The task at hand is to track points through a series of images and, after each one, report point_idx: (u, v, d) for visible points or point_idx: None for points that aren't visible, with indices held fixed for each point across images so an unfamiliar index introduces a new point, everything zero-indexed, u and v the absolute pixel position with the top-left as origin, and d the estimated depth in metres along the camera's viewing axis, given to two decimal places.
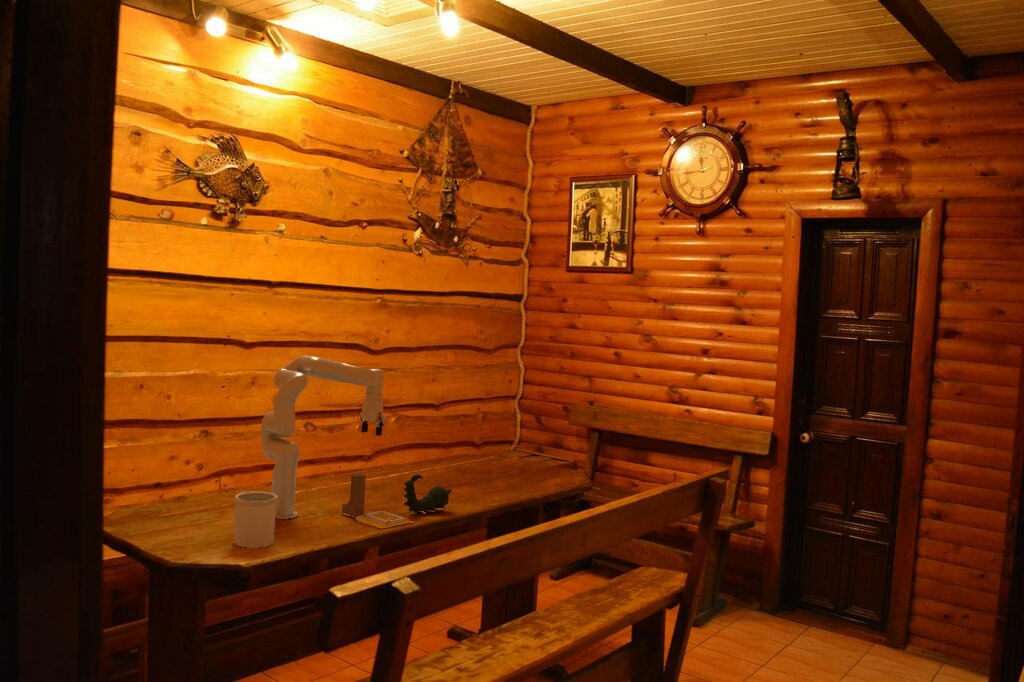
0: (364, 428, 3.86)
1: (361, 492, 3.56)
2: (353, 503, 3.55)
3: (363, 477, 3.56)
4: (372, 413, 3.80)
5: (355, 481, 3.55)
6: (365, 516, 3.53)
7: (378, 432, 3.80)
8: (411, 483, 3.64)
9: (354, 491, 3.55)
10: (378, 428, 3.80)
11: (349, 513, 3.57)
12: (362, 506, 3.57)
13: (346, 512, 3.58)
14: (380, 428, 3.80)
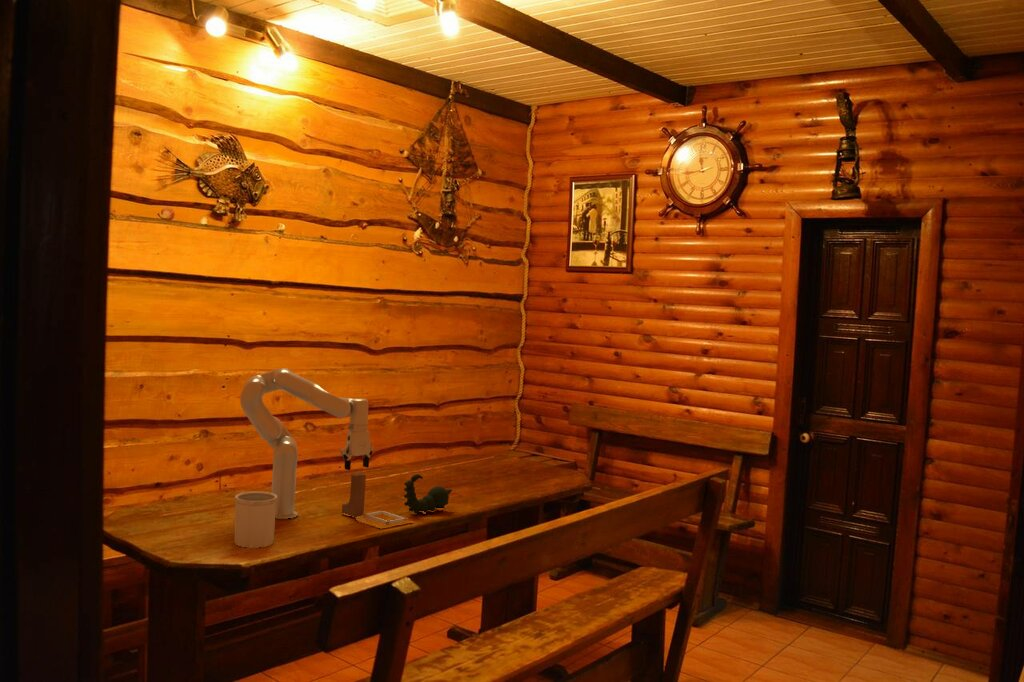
0: None
1: (361, 492, 3.56)
2: (353, 503, 3.55)
3: (363, 477, 3.56)
4: (367, 445, 3.58)
5: (355, 481, 3.55)
6: (365, 516, 3.53)
7: None
8: (411, 483, 3.64)
9: (354, 491, 3.55)
10: (368, 459, 3.62)
11: (349, 513, 3.57)
12: (362, 506, 3.57)
13: (346, 512, 3.58)
14: None
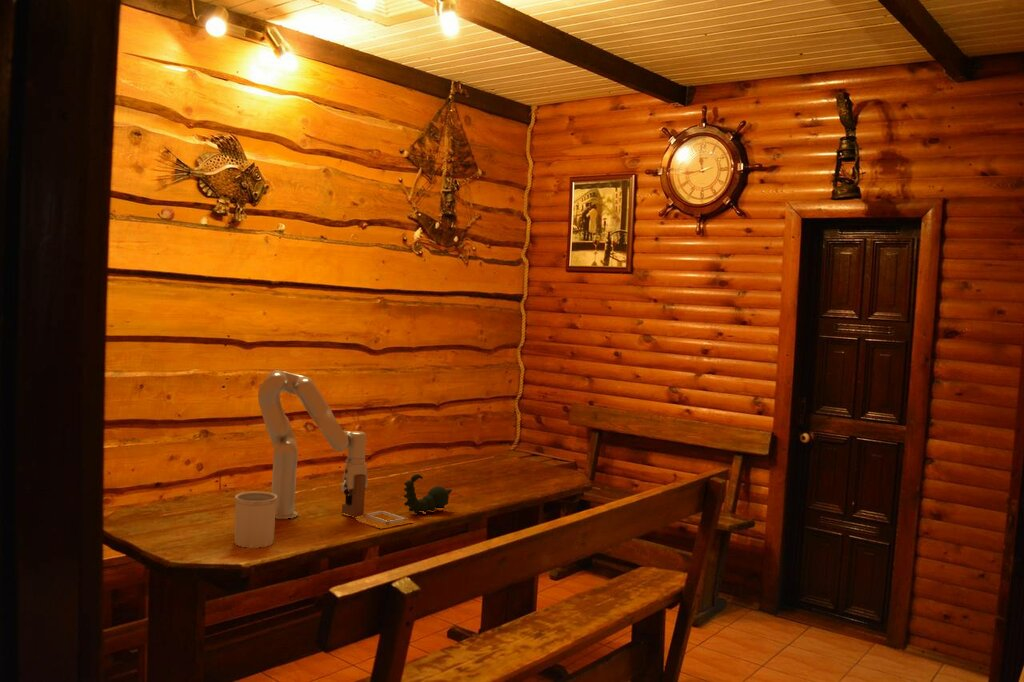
0: None
1: (361, 492, 3.56)
2: (353, 503, 3.55)
3: (363, 477, 3.56)
4: None
5: None
6: (365, 516, 3.53)
7: None
8: (411, 483, 3.64)
9: (354, 491, 3.55)
10: None
11: (349, 513, 3.57)
12: (362, 506, 3.57)
13: (346, 512, 3.58)
14: None
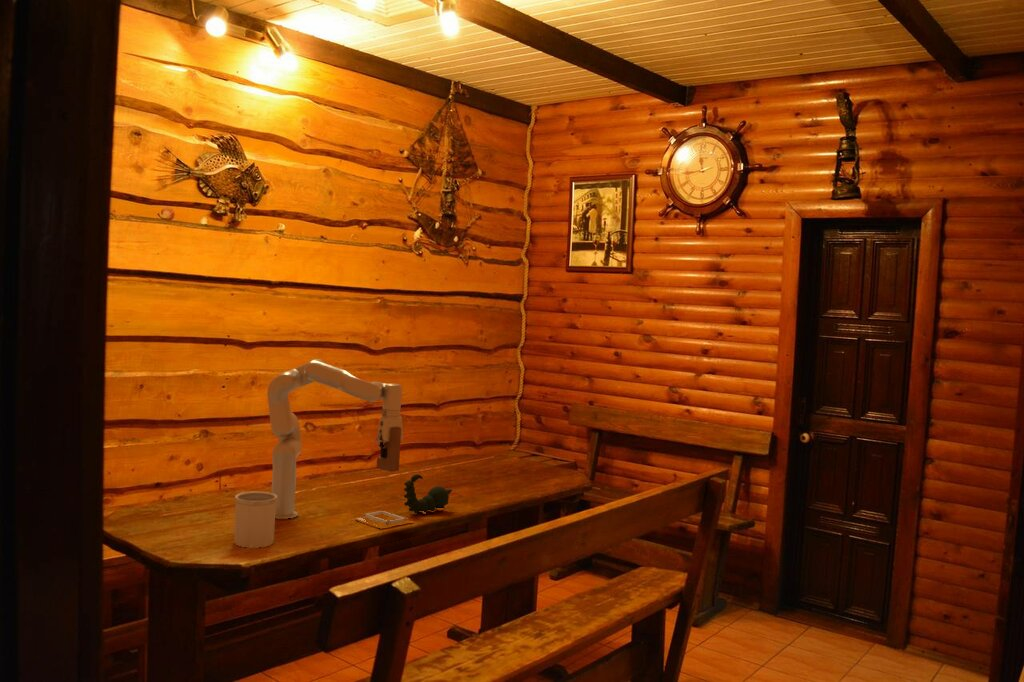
0: None
1: (397, 445, 3.49)
2: (389, 455, 3.48)
3: (398, 429, 3.49)
4: None
5: (390, 433, 3.48)
6: (365, 516, 3.53)
7: None
8: (411, 483, 3.64)
9: (389, 443, 3.48)
10: None
11: (384, 466, 3.50)
12: (397, 459, 3.50)
13: (381, 465, 3.51)
14: None
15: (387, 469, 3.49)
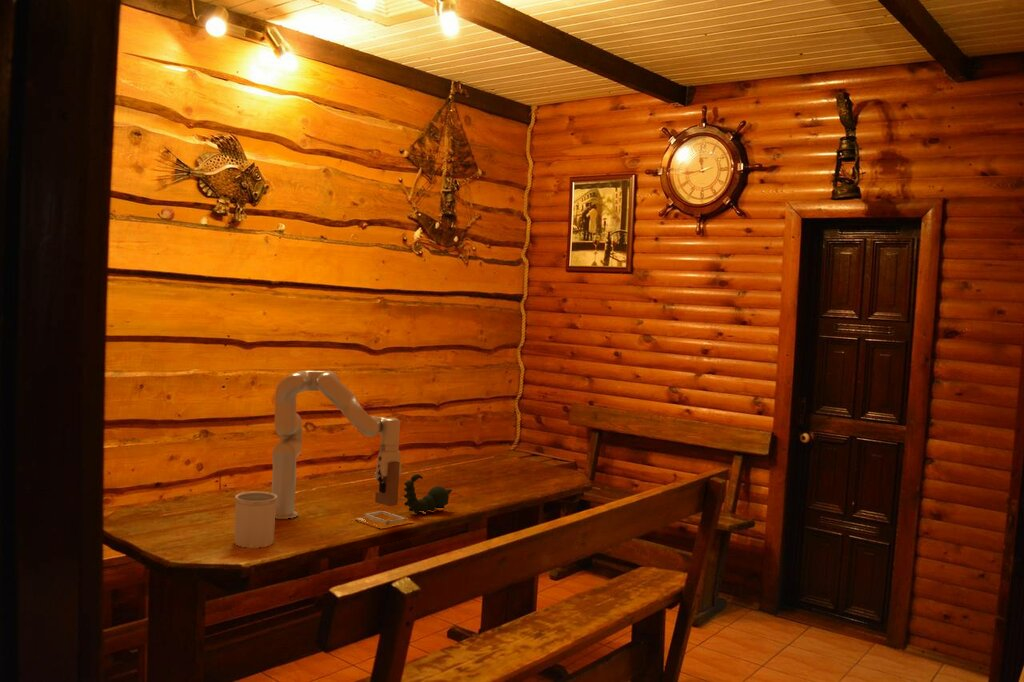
0: None
1: (395, 480, 3.50)
2: (387, 490, 3.49)
3: (397, 464, 3.50)
4: None
5: None
6: (365, 516, 3.53)
7: None
8: (411, 483, 3.64)
9: (388, 478, 3.49)
10: None
11: (383, 500, 3.50)
12: (396, 494, 3.51)
13: (380, 500, 3.52)
14: None
15: (386, 504, 3.49)
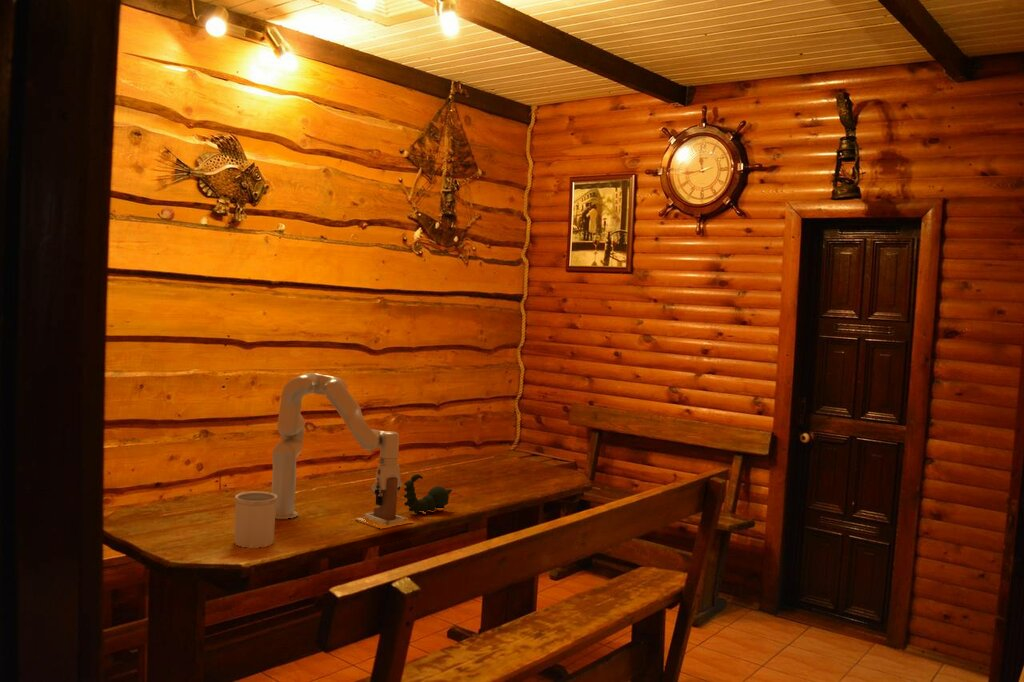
0: None
1: (393, 496, 3.50)
2: (385, 506, 3.49)
3: (395, 480, 3.50)
4: None
5: None
6: (365, 516, 3.53)
7: None
8: (411, 483, 3.64)
9: (386, 494, 3.49)
10: None
11: (381, 516, 3.51)
12: (394, 509, 3.51)
13: (378, 515, 3.52)
14: None
15: (384, 519, 3.50)
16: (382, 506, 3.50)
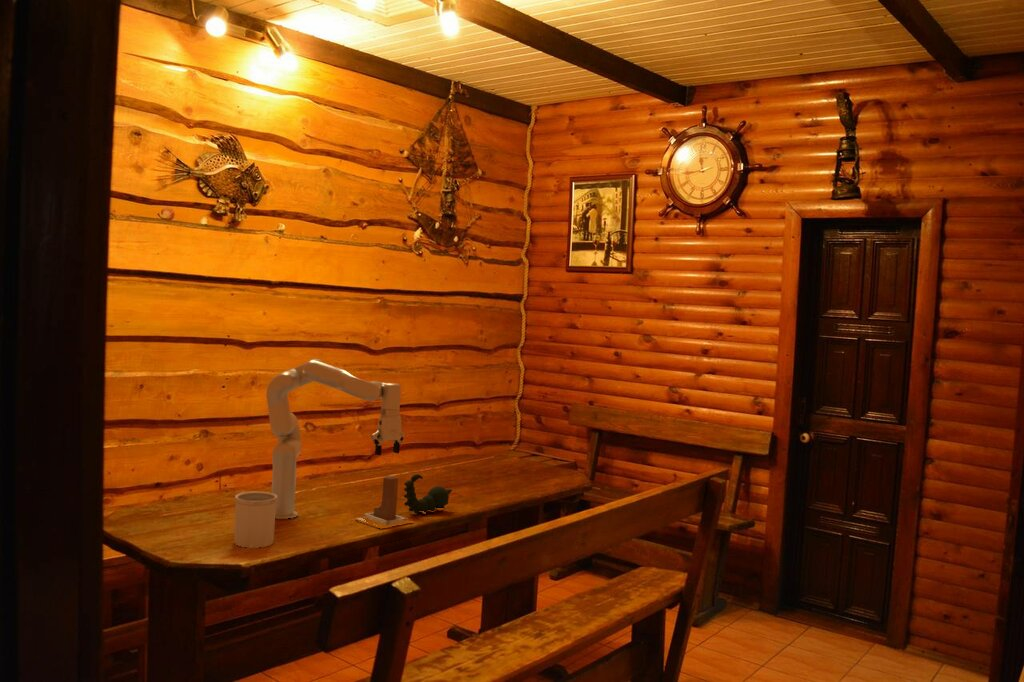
0: None
1: (394, 496, 3.50)
2: (385, 506, 3.49)
3: (395, 480, 3.50)
4: (398, 431, 3.52)
5: (387, 484, 3.49)
6: (365, 516, 3.53)
7: (398, 449, 3.56)
8: (411, 483, 3.64)
9: (386, 494, 3.49)
10: None
11: (381, 516, 3.51)
12: (394, 509, 3.51)
13: (378, 515, 3.52)
14: None
15: (384, 519, 3.50)
16: (382, 506, 3.51)
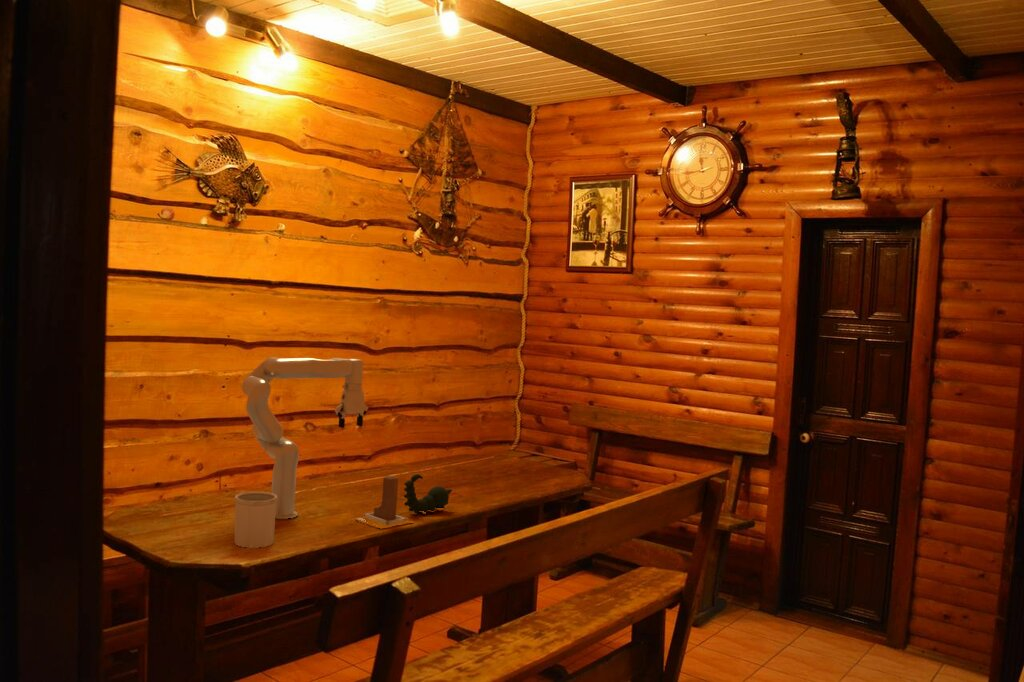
0: None
1: (394, 496, 3.50)
2: (385, 506, 3.49)
3: (395, 480, 3.50)
4: (361, 404, 3.67)
5: (387, 484, 3.49)
6: (365, 516, 3.53)
7: None
8: (411, 483, 3.64)
9: (386, 494, 3.49)
10: None
11: (381, 516, 3.51)
12: (394, 509, 3.51)
13: (378, 515, 3.52)
14: None
15: (384, 519, 3.50)
16: (382, 506, 3.51)
